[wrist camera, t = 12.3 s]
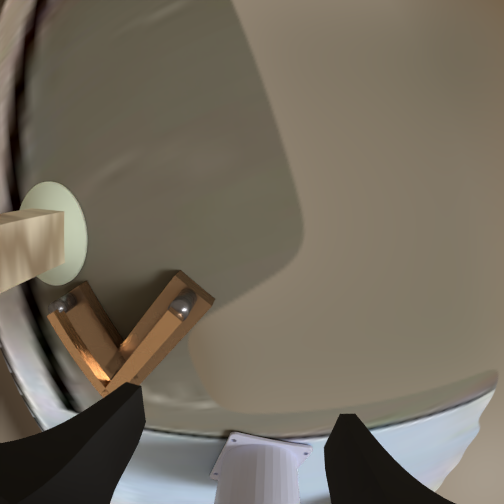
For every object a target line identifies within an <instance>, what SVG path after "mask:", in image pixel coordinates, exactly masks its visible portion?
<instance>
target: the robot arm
mask: <svg viewBox="0 0 504 504" xmlns="http://www.w3.org/2000/svg"><path fill="white" fill-rule="evenodd" d="M145 423H146V420H145V413H144V405H143V397H142V388H141V386H139V385H136V384H132V383H129V382H125V383H124V384H122V385H121V386H119V387H118V388H117V389H115V390H114V391H112V392H111V393H110V394H108V395H107V396H105V397H104V398H103V399H101V400H100V401H98V402H97V403H95V404H94V405H92V406H91V407H89V408H88V409H86V410H84V411H83V412H81V413H80V414H78V415H76V416H74V417H73V418H71V419H69V420H67V421H65V422H63V423H62V424H59V425H57V426H55V427H53V428H51V429H49V430H46V431H44V432H41V433H38V434H36V435H32V436H29V437H26V438H23V439H19V440H15V441H10V442H5V443H0V504H110V501H111V499H112V496H113V493H114V490H115V488H116V486H117V484H118V482H119V480H120V478H121V476H122V474H123V472H124V470H125V468H126V466H127V464H128V463H129V461H130V459H131V457H132V455H133V453H134V451H135V449H136V447H137V445H138V443H139V440H140V437H141V435H142V432H143V429H144V426H145ZM312 451H313V447H312V446H310V445H302V444H295V443H289V442H283V441H277V440H272V439H267V438H262V437H257V436H252V435H248V434H244V433H239V432H232V433H230V435H229V437H228V439H227V441H226V443H225V445H224V447H223V449H222V451H221V453H220V455H219V457H218V459H217V461H216V463H215V465H214V467H213V469H212V471H211V473H210V478H211V479H213V480H217V481H218V484H217V490H216V496H215V502H214V504H300V494H299V480H298V468H299V467H300V466H301V465H302V464H303V462H304V461H305V460H306V459H307V458H308V456H309V455H310V454H311V453H312ZM324 458H325V471H326V477H327V482H328V487H329V492H330V498H331V503H332V504H455V503H453V502H451V501H449V500H447V499H445V498H443V497H441V496H440V495H438V494H437V493H435V492H433V491H432V490H430V489H429V488H427V487H426V486H424V485H423V484H422V483H420V482H419V481H418V480H417V479H415V478H414V477H413V476H412V475H410V474H409V473H408V472H407V471H406V470H405V469H404V468H403V467H402V466H401V465H400V464H398V463H397V462H396V461H395V460H394V459H393V458H392V456H391V455H390V454H389V453H388V452H387V451H386V450H385V449H384V448H383V447H382V445H381V444H380V443H379V442H378V441H377V440H376V438H375V437H374V436H373V435H372V434H371V432H370V431H369V430H368V429H367V428H366V426H365V425H364V424H363V423H362V421H361V420H360V419H359V418H358V417H357V415H356V414H340V415H339V417H338V419H337V421H336V424H335V426H334V428H333V430H332V432H331V434H330V436H329V438H328V440H327V442H326V444H325V446H324Z"/></svg>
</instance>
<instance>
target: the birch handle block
mask: <svg viewBox="0 0 504 504" xmlns="http://www.w3.org/2000/svg"><path fill="white" fill-rule="evenodd" d="M64 263H65V253H64V211H55V210H45V209H35V208H30V209H24V210H19V211H13V212H8V213H3V214H0V293H2V292H4V291H6V290H8V289H10V288H12V287H14V286H17V285H19V284H21V283H23V282H25V281H27V280H29V279H31V278H33V277H35V276H37V275H40V274H42V273H44V272H46V271H48V270H50V269H53V268H55V267H57V266H59V265H61V264H64Z"/></svg>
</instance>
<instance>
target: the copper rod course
mask: <svg viewBox="0 0 504 504" xmlns="http://www.w3.org/2000/svg"><path fill="white" fill-rule="evenodd" d="M214 300H215V299H214V298H213V297H212V296H211V295H210V294H208V293H207V292H206V291H205V290H204V289H202V288H201V287H200V286H199V285H198V284H196V283H195V282H194V281H193V280H192V279H190V278H189V277H188V276H187V275H186V274H185V273H183V272H182V271H181V270H180V271H179V272H178V273H177V274H176V275H175V276H174V277H173V278H172V280H171V281H170V282H169V283H168V285H167V286H166V287H165V289H164V290H163V291H162V292H161V294H160V295H159V296H158V297H157V299H156V300H155V301H154V303H153V304H152V305H151V306H150V308H149V309H148V310H147V312H146V313H145V314H144V316H143V317H142V318H141V320H140V321H139V322H138V324H137V325H136V326H135V327H134V329H133V330H132V331H131V333H130V334H129V336H128V337H127V338H126V340H125V341H123V339H122V338H121V336H120V335H119V333H118V332H117V330H116V329H115V327H114V326H113V324H112V322H111V321H110V319H109V318H108V316H107V314H106V313H105V311H104V309H103V308H102V306H101V304H100V303H99V301H98V299H97V298H96V296H95V294H94V292H93V291H92V289H91V287H90V285H89V284H88V282H87V281H86V282H84V283H82V284H81V285H79V286H77V287H76V288H74V289H73V290H71V291H70V292H68V293H67V294H65V295H64V296H62V297H60V298H59V299H57V300H56V301H54V302H52V303H51V304H49V306H48V310H49V313H50V314H49V315H48V316H47V318H48V319H49V321H50V323H51V324H52V326H53V328H54V329H55V331H56V333H57V334H58V336H59V338H60V339H61V341H62V342H63V344H64V345H65V347H66V348H67V350H68V351H69V353H70V354H71V356H72V357H73V359H74V360H75V362H76V363H77V364H78V366H79V367H80V369H81V370H82V371H83V373H84V374H85V375H86V377H87V378H88V379H89V381H90V382H91V383H92V385H93V386H94V387H95V388H96V390H97V391H98V392H99V393H100V395H101V396H102V397H103V398H104V397H105V396H107V395H108V394H110V393H111V392H112V391H114V390H115V389H117V388H118V387H119V386H121V385H122V384H124V383H125V382H129V383H132V384H136V385H140V383H141V382H142V381H143V380H144V379H145V378H146V377H147V376H148V375H149V374H150V373H151V372H152V371H153V369H154V368H155V367H156V366H157V365H158V364H159V363H160V362H161V361H162V360H163V359H164V358H165V356H166V355H167V354H168V353H169V352H170V351H171V350H172V349H173V348H174V347H175V346H176V345H177V343H178V342H179V341H180V340H181V339H182V338H183V337H184V336H185V335H186V334H187V333H188V332H189V330H190V329H191V328H192V327H193V326H194V325H195V324H196V323H197V322H198V321H199V320H200V318H201V317H202V316H203V315H204V314H205V313H206V312H207V311H208V310H209V309H210V308H211V306H212V305H213V302H214Z"/></svg>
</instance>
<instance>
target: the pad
mask: <svg viewBox="0 0 504 504" xmlns="http://www.w3.org/2000/svg"><path fill="white" fill-rule="evenodd" d="M30 208H35V209H45V210H55V211H64V253H65V263H64V264H61V265H59V266H57V267H55V268H53V269H50V270H48V271H46V272H44V273H42V274H40V275H37V277H38V278H39V279H40V280H42V281H43V282H45V283H47V284H50V285H56V286H58V285H63V284H66V283H68V282H70V281H71V280H73V279H74V278H75V277H76V276H77V275H78V274H79V272H80V270H81V269H82V267H83V264H84V262H85V258H86V254H87V246H88V234H87V226H86V221H85V217H84V214H83V211H82V209H81V206H80V204H79V202H78V201H77V199H76V198H75V196H74V195H73V194H72V192H71V191H70V190H69V189H68V188H66V187H65V186H63V185H62V184H60V183H57V182H42V183H40V184H37V185H36V186H34V187H33V188H32V189H31V190H30V191H29V192H28V193H27V195H26V196H25V198H24V200H23V202H22V204H21V207H20V210H24V209H30Z"/></svg>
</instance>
